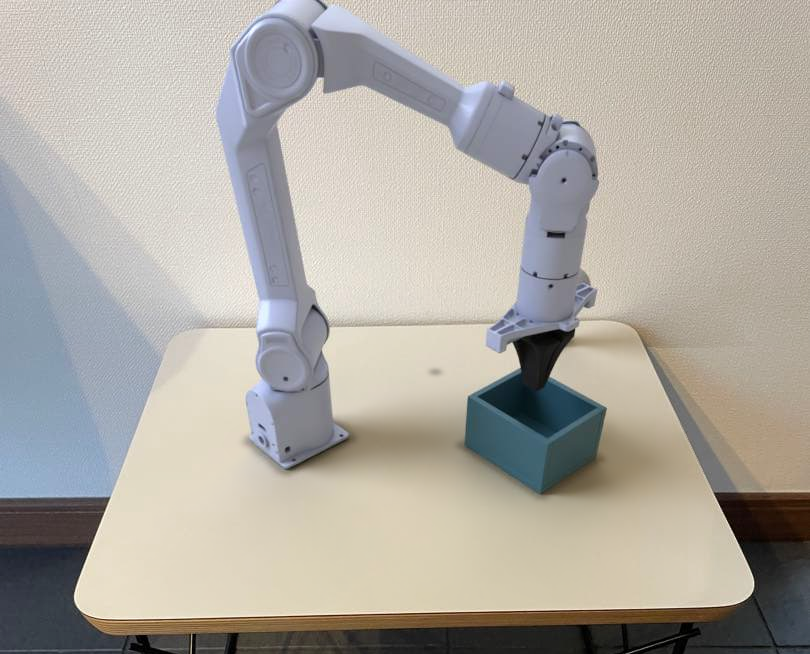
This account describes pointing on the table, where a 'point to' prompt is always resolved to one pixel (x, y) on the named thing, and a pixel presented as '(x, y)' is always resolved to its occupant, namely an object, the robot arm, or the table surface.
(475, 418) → the teal open box
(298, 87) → the robot arm
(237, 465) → the table surface
